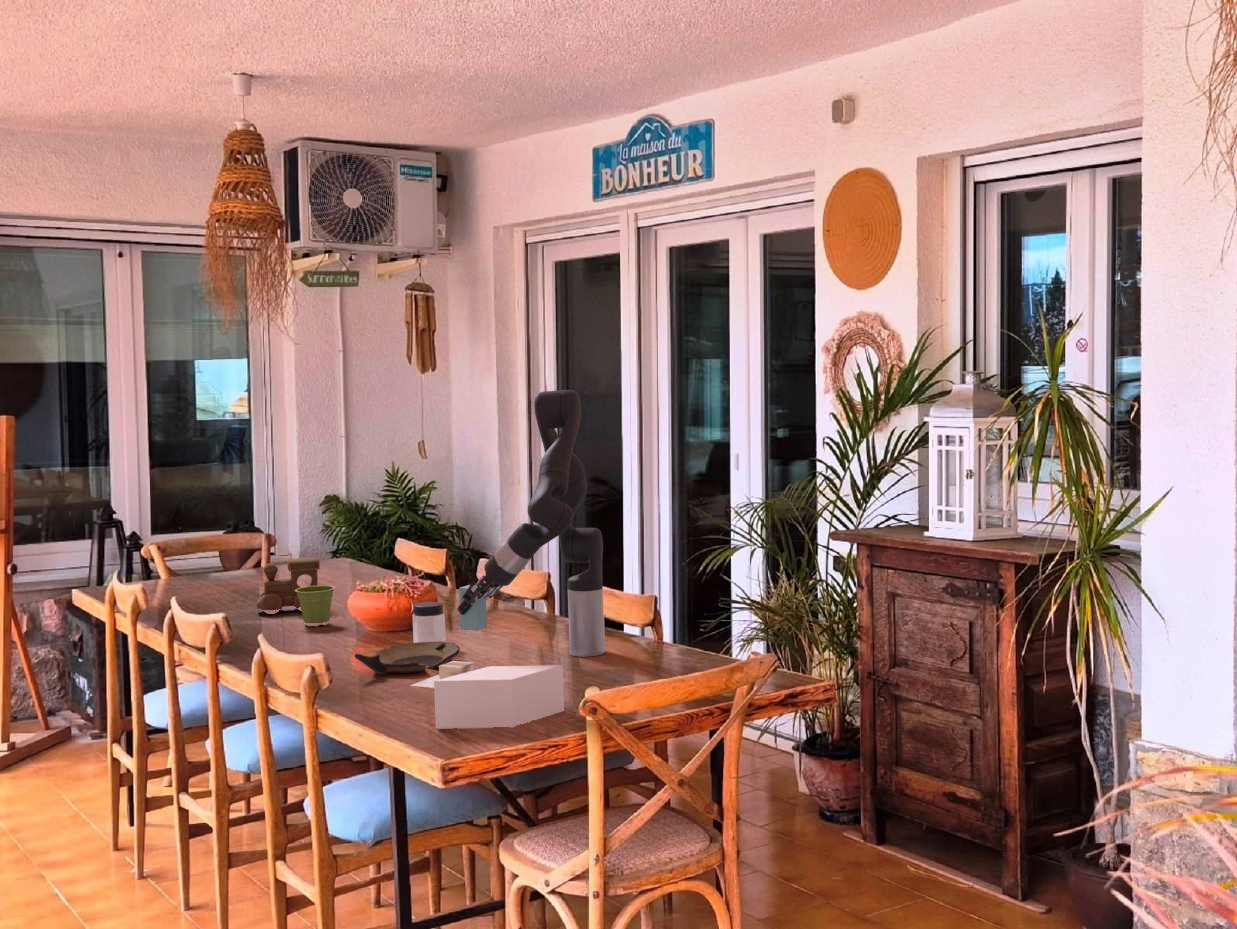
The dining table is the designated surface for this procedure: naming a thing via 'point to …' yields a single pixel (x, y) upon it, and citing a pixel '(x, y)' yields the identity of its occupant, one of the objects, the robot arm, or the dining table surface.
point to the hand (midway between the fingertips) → (466, 610)
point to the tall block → (473, 613)
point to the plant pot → (315, 603)
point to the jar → (428, 622)
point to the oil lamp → (410, 657)
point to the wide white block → (498, 696)
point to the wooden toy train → (286, 583)
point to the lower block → (455, 668)
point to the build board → (427, 682)
